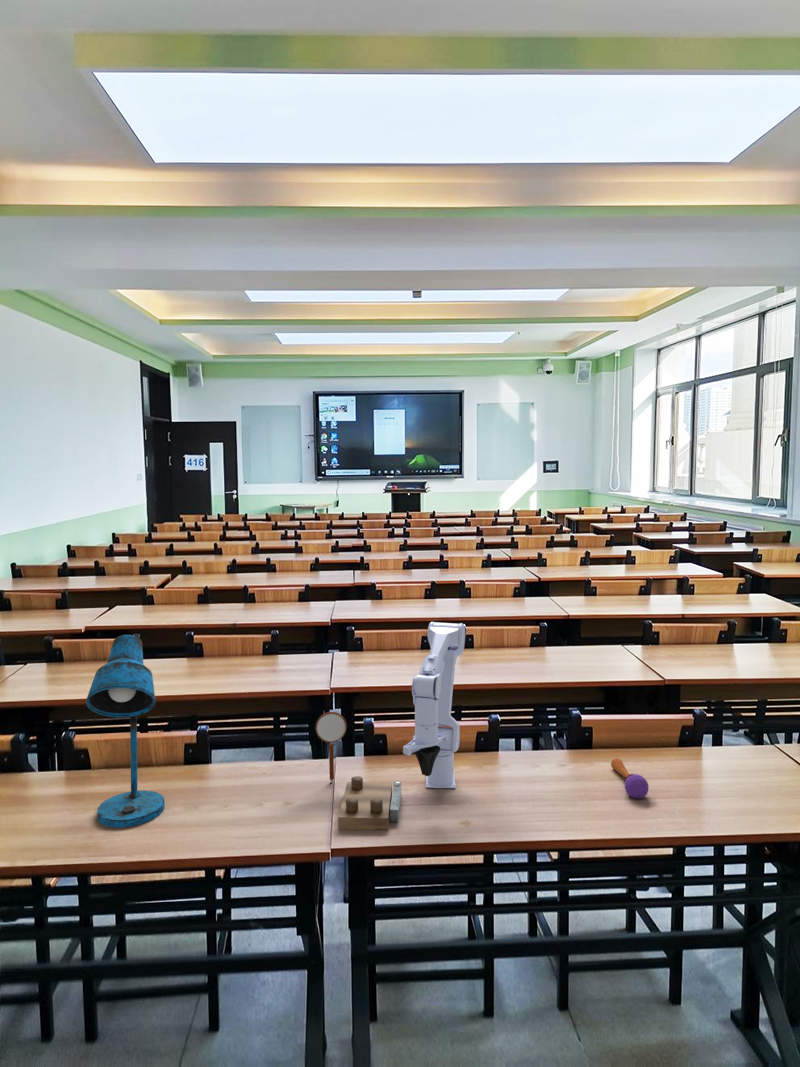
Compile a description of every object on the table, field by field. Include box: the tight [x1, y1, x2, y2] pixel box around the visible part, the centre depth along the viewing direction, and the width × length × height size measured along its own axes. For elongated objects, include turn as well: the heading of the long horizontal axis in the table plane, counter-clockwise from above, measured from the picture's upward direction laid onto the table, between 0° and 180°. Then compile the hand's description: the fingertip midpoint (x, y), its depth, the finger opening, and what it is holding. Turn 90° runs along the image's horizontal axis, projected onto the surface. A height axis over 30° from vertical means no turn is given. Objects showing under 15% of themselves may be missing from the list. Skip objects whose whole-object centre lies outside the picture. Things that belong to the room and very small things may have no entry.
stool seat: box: [337, 776, 393, 831], centre depth 176 cm, size 19×12×6 cm, turn 178°
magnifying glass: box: [314, 711, 348, 783], centre depth 191 cm, size 9×2×20 cm, turn 96°
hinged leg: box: [389, 780, 402, 823], centre depth 177 cm, size 15×2×4 cm, turn 177°
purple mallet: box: [610, 757, 649, 799], centre depth 190 cm, size 6×6×20 cm
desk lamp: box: [85, 634, 166, 829], centre depth 172 cm, size 16×22×45 cm
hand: (426, 774), depth 175 cm, fingers closed
